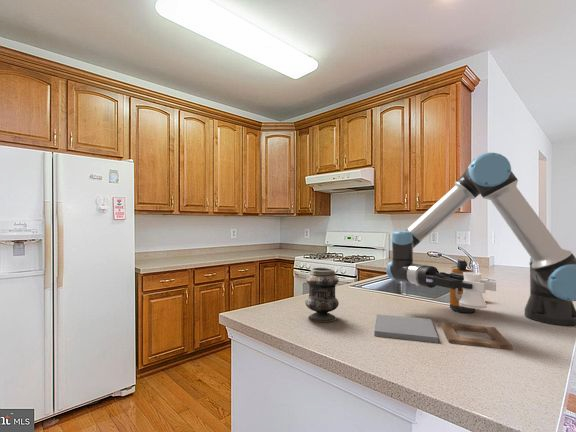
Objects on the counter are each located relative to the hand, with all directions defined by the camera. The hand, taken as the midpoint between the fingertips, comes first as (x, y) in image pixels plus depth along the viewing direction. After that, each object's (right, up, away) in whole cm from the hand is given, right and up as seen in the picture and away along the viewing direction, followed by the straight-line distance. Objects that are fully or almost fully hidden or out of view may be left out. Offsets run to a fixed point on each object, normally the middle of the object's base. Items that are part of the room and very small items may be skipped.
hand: (489, 287), depth 93 cm
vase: (-2, -7, +5) cm, 9 cm away
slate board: (-21, -16, +11) cm, 29 cm away
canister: (+10, -16, +33) cm, 38 cm away
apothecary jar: (-47, -16, +22) cm, 55 cm away
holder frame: (-2, -16, +5) cm, 17 cm away
